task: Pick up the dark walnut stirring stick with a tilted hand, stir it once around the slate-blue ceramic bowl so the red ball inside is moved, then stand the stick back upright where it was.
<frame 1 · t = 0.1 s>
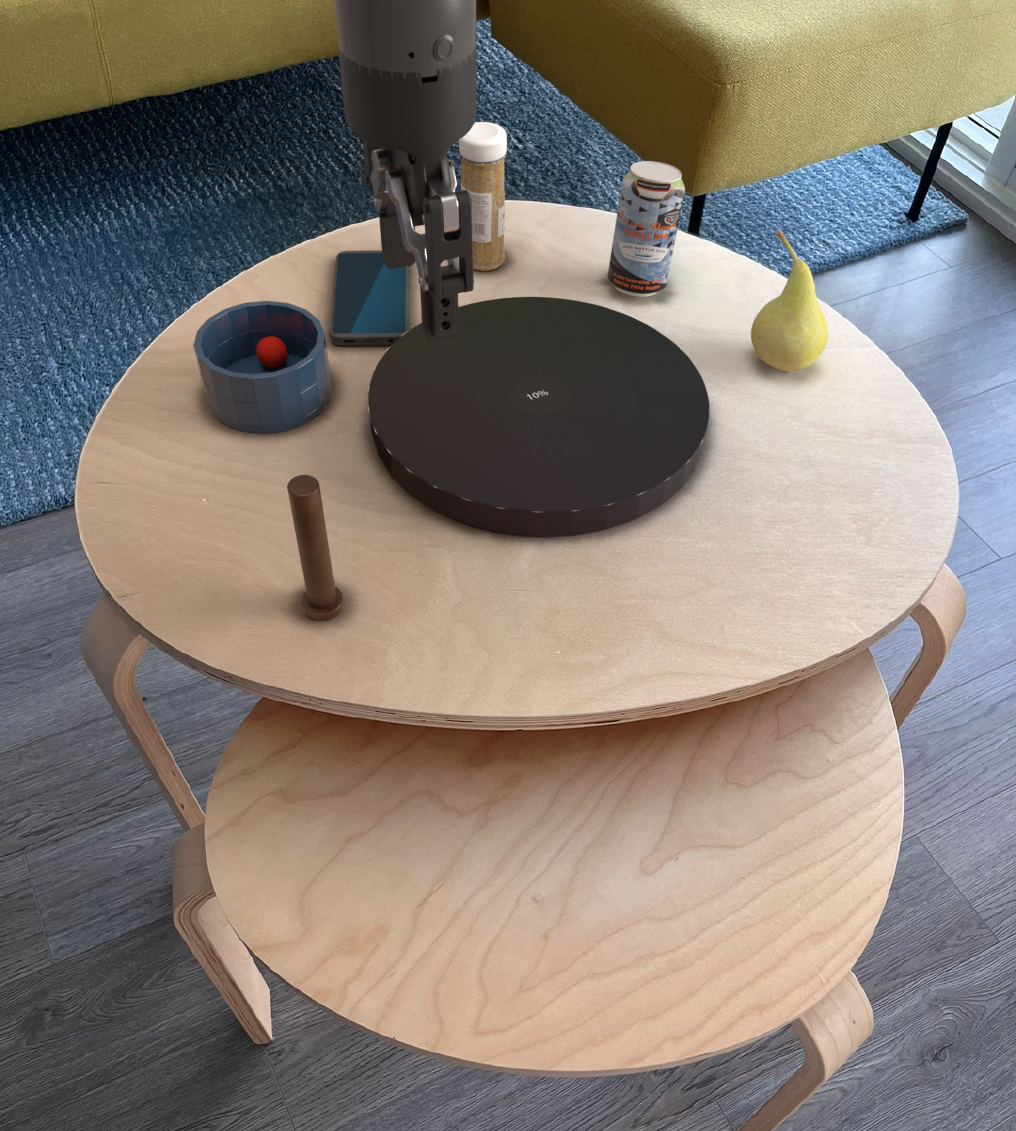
hand: (419, 299, 73), 22 cm above the table, tool pointing down, fingers open, 8 cm apart
smartphone: (371, 301, 112), on the table
bowl: (269, 393, 103), on the table
disc: (537, 421, 101), on the table
beverage can: (638, 287, 115), on the table
red ball: (271, 352, 103), point 2 cm above the table, touching bowl
fruit: (778, 364, 107), on the table
spice jar: (483, 262, 117), on the table
stick: (323, 605, 87), on the table
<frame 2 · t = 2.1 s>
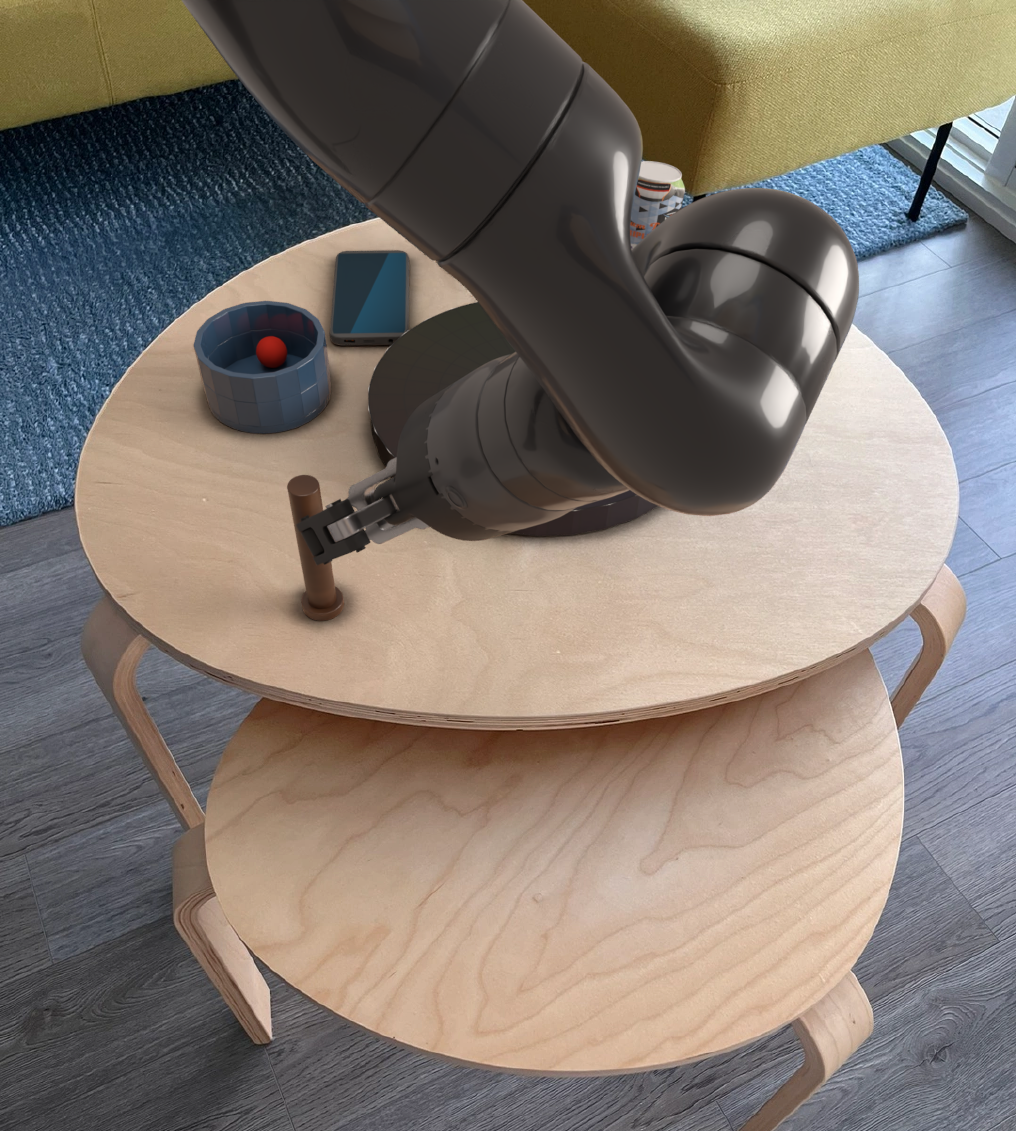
hand: (385, 502, 66), 19 cm above the table, tool tilted 45°, fingers open, 8 cm apart
nothing on the table moved.
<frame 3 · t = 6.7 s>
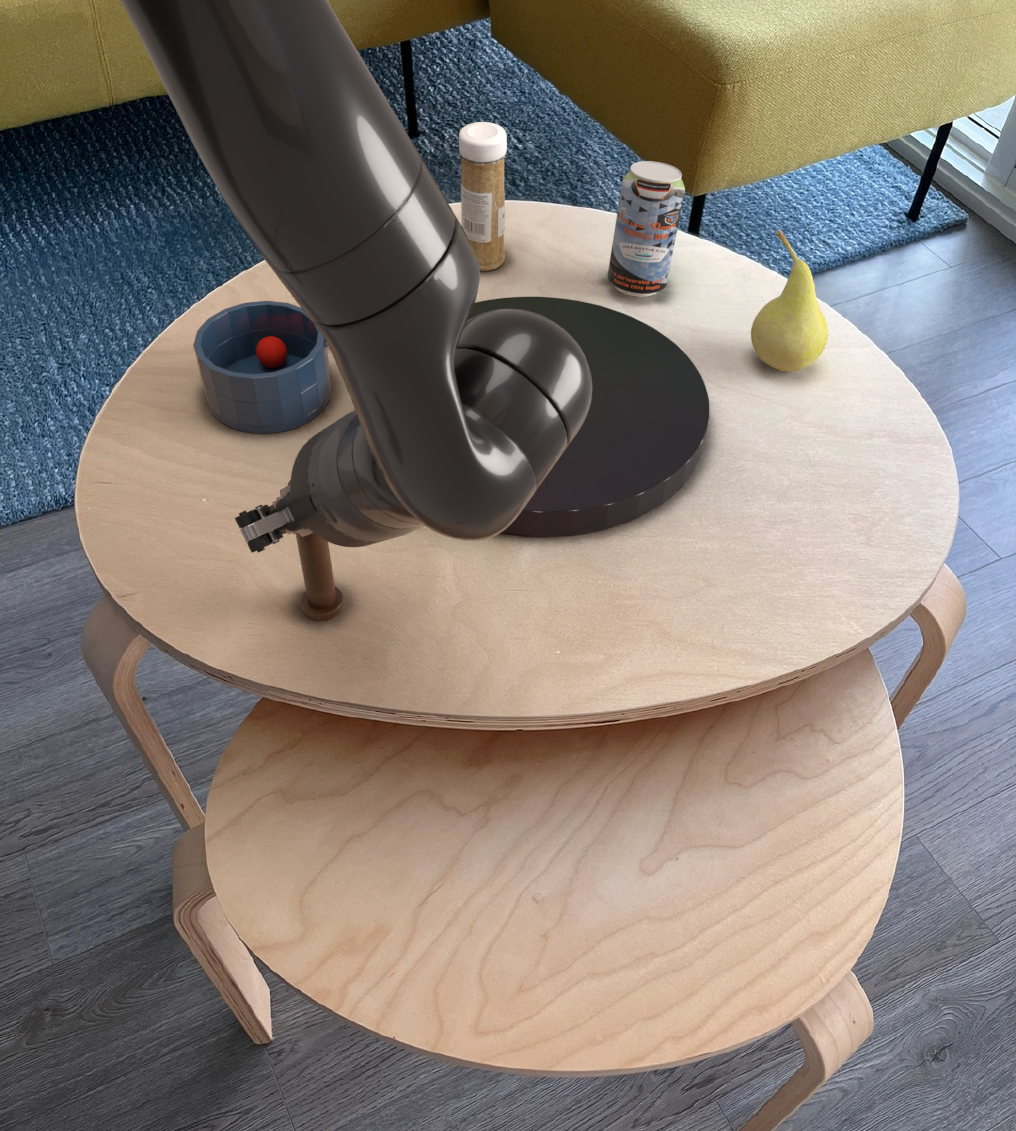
hand: (295, 511, 81), 8 cm above the table, tool tilted 45°, fingers closed on stick, 2 cm apart
stick: (323, 605, 87), on the table, touching gripper
everything else where it was.
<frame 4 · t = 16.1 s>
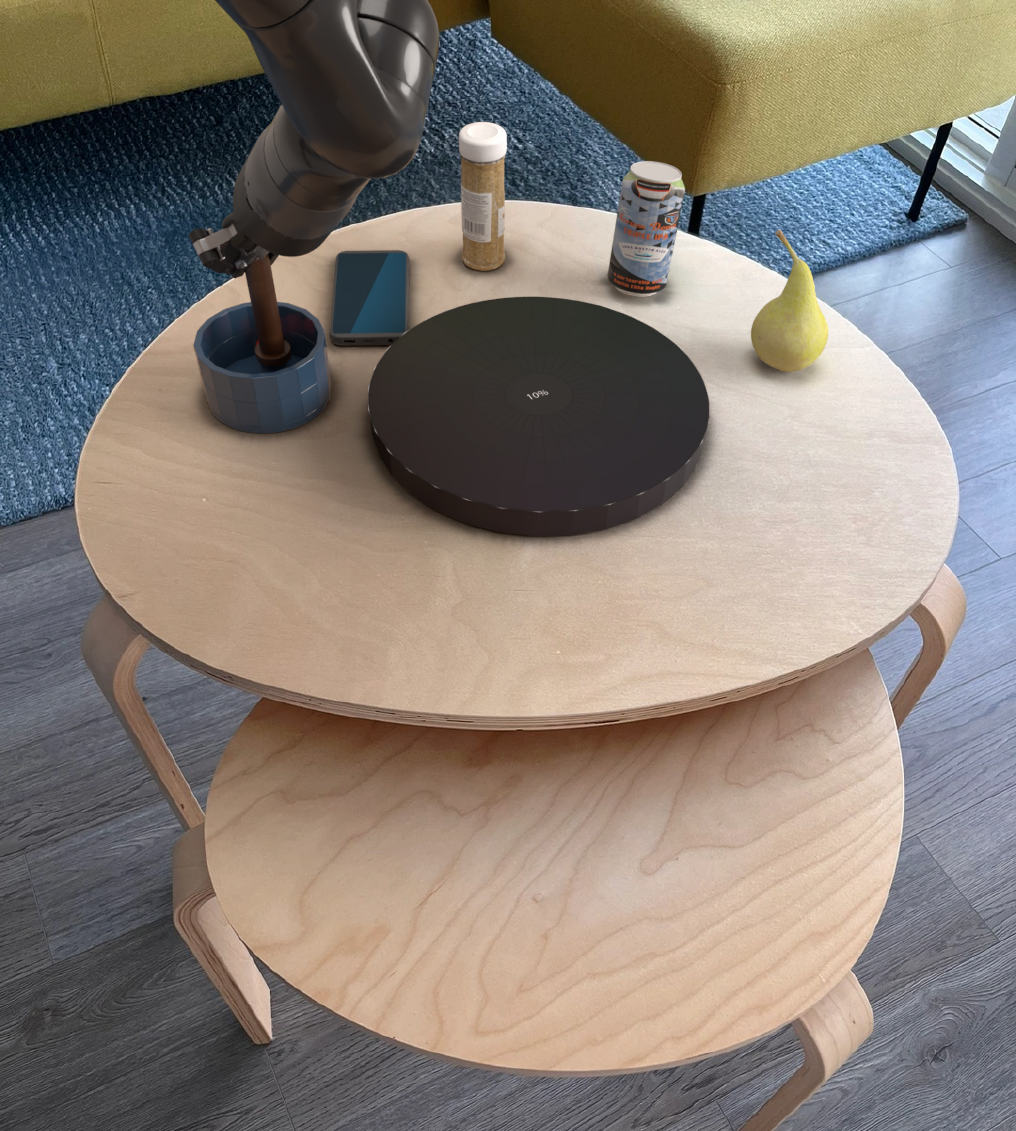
hand: (246, 260, 95), 12 cm above the table, tool tilted 45°, fingers closed on stick, 2 cm apart
red ball: (271, 349, 103), point 2 cm above the table, tilted 16°, touching bowl, stick
stick: (273, 355, 101), point 3 cm above the table, touching gripper, red ball
everything else where it was.
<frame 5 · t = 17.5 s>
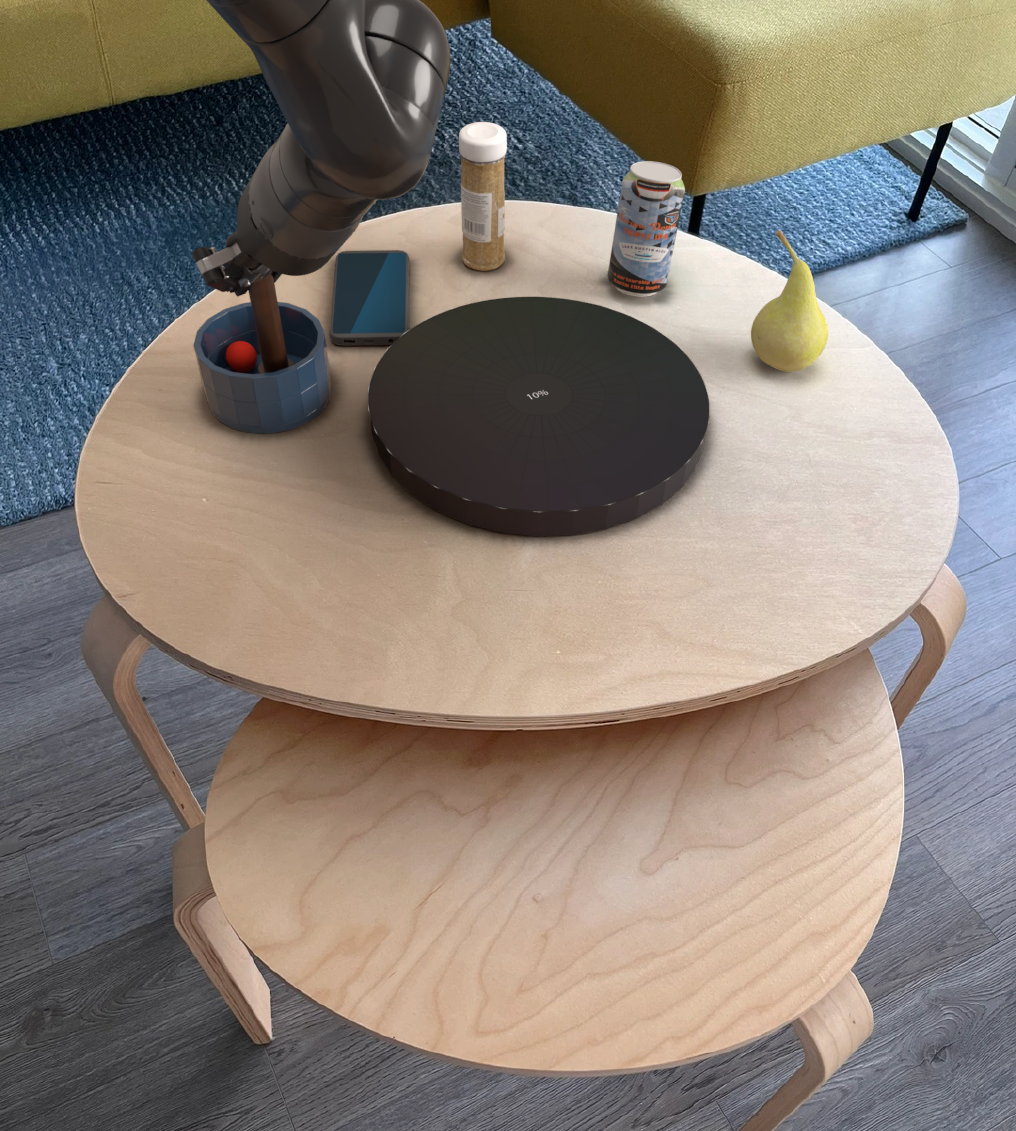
hand: (249, 278, 94), 11 cm above the table, tool tilted 45°, fingers closed on stick, 2 cm apart
red ball: (241, 356, 102), point 2 cm above the table, tilted 109°, touching bowl
stick: (277, 374, 99), point 3 cm above the table, touching gripper
everything else where it was.
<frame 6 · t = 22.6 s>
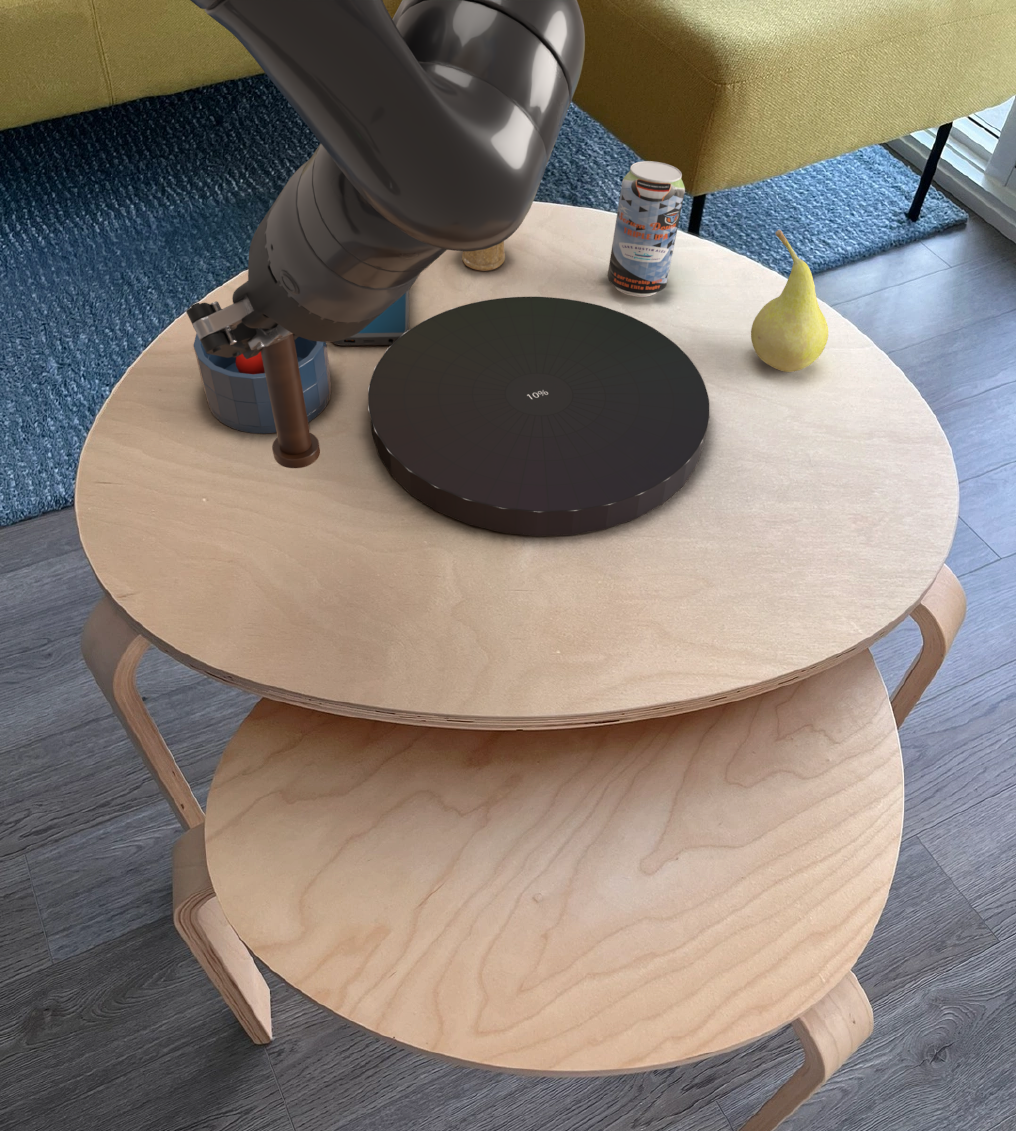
hand: (261, 334, 72), 22 cm above the table, tool tilted 45°, fingers closed on stick
red ball: (251, 362, 102), point 2 cm above the table, tilted 68°, touching bowl
stick: (297, 453, 78), point 13 cm above the table, touching gripper
everything else where it was.
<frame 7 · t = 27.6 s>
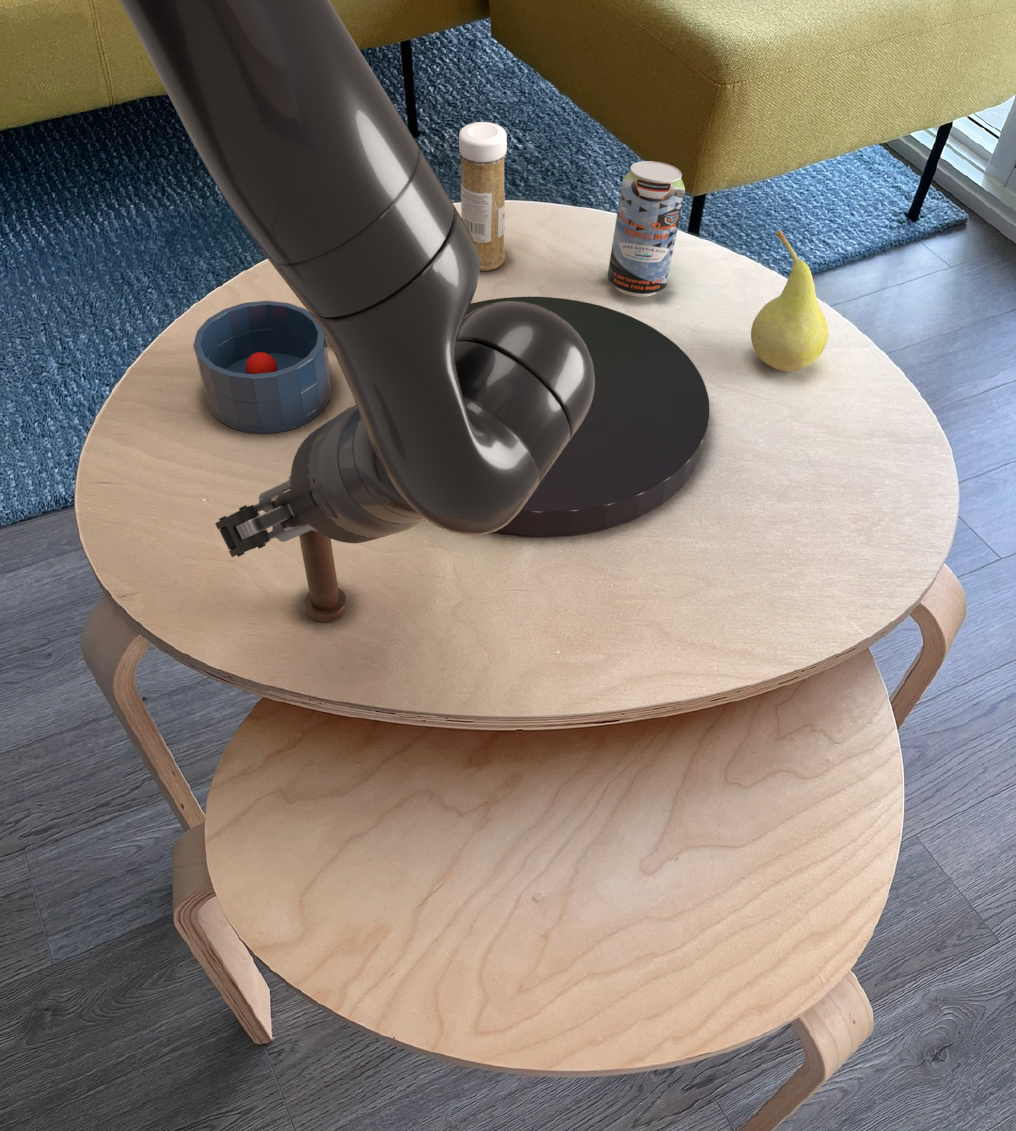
hand: (299, 505, 80), 10 cm above the table, tool tilted 45°, fingers open, 8 cm apart
red ball: (261, 368, 101), point 2 cm above the table, tilted 41°, touching bowl
stick: (326, 607, 87), on the table
everything else where it was.
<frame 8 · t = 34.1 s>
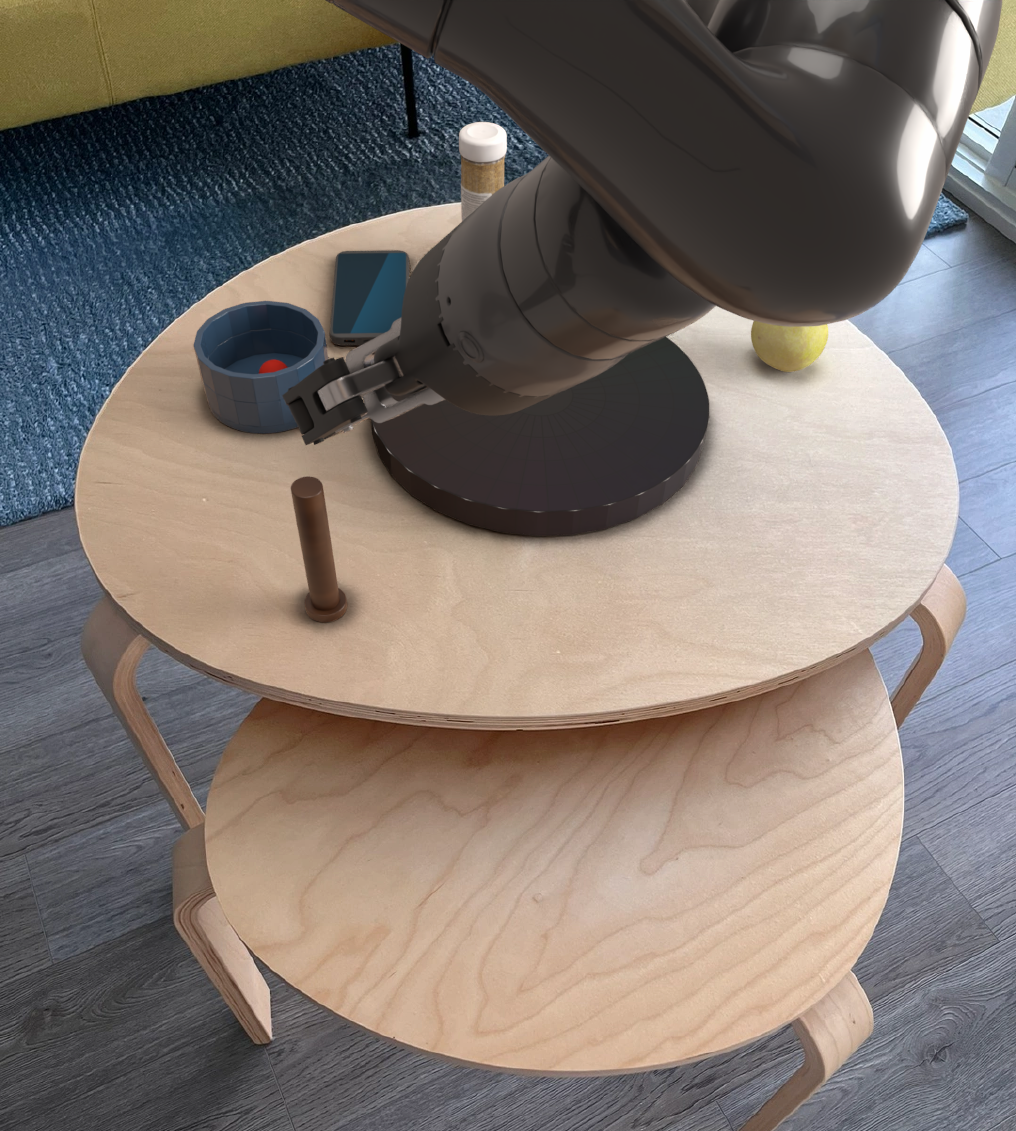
hand: (390, 387, 58), 29 cm above the table, tool tilted 45°, fingers open, 8 cm apart
red ball: (274, 375, 101), point 2 cm above the table, tilted 69°, touching bowl
everything else where it was.
at the end: red ball moved 3.6 cm from its start; stick inside the target area (0.3 cm from its centre), on the table; stick tilted 0° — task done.
